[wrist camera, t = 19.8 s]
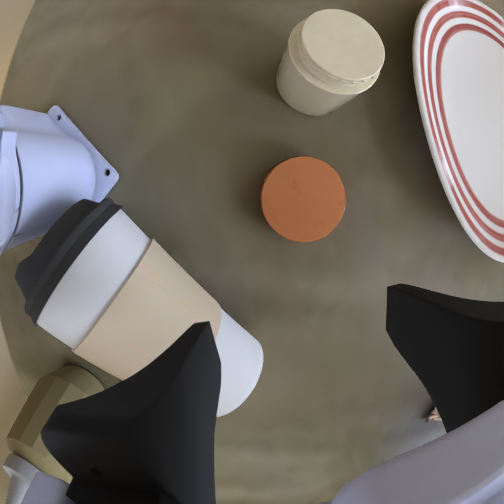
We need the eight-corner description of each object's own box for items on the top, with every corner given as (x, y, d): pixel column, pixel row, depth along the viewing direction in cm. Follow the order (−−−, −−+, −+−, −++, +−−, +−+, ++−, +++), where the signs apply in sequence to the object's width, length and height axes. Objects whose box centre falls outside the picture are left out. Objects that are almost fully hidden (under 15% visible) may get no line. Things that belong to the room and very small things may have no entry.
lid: (343, 229, 20) (351, 234, 19) (269, 245, 21) (271, 251, 19) (330, 151, 19) (337, 150, 17) (252, 166, 19) (252, 165, 17)
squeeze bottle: (81, 414, 25) (25, 526, 8) (41, 360, 23) (-43, 469, 6) (131, 409, 25) (79, 552, 7) (88, 349, 23) (-9, 492, 5)
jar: (260, 79, 17) (269, 32, 10) (310, 41, 17) (338, -10, 9) (312, 130, 19) (349, 107, 11) (359, 89, 18) (409, 57, 11)
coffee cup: (200, 345, 25) (66, 237, 19) (278, 305, 21) (116, 156, 15) (176, 436, 18) (-1, 318, 12) (271, 421, 13) (11, 239, 8)
